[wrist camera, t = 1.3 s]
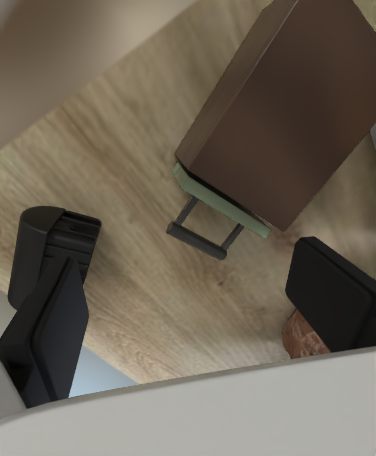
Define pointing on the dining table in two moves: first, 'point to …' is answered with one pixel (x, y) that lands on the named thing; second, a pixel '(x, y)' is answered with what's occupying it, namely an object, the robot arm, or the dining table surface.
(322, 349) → the decorative rock
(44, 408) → the robot arm
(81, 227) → the end cap
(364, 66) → the cabinet
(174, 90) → the dining table surface
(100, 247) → the dining table surface
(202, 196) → the drawer
